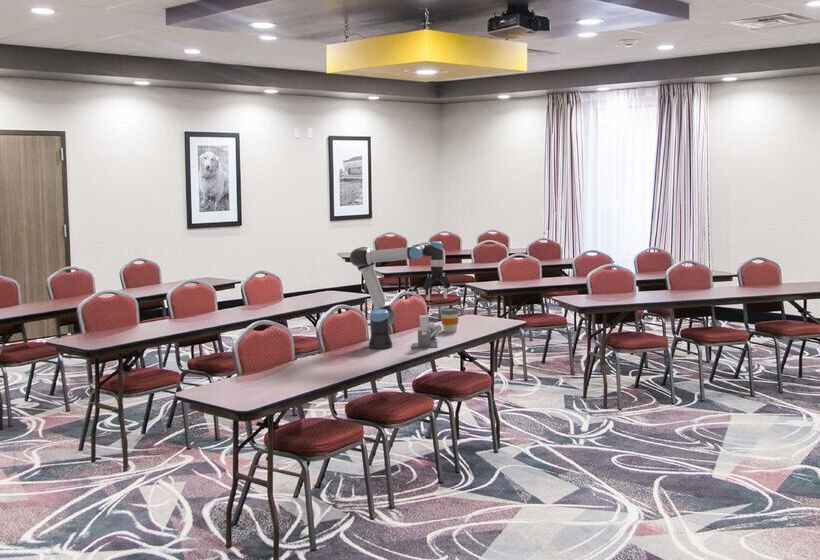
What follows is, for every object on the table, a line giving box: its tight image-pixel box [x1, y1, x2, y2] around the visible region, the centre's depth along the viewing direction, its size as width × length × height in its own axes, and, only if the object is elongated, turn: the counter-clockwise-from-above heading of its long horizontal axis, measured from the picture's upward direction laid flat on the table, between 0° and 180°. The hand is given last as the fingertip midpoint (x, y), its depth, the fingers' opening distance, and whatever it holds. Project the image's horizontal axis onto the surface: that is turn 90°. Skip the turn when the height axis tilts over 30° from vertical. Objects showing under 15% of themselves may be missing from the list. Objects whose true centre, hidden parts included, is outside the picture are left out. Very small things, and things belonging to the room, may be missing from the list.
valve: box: [428, 322, 443, 339], centre depth 569 cm, size 10×18×15 cm
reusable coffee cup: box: [440, 307, 460, 333], centre depth 600 cm, size 13×13×15 cm
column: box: [419, 314, 429, 332], centre depth 549 cm, size 5×5×18 cm
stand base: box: [411, 329, 438, 349], centre depth 550 cm, size 16×12×10 cm
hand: (436, 299), depth 554 cm, fingers open, 13 cm apart
